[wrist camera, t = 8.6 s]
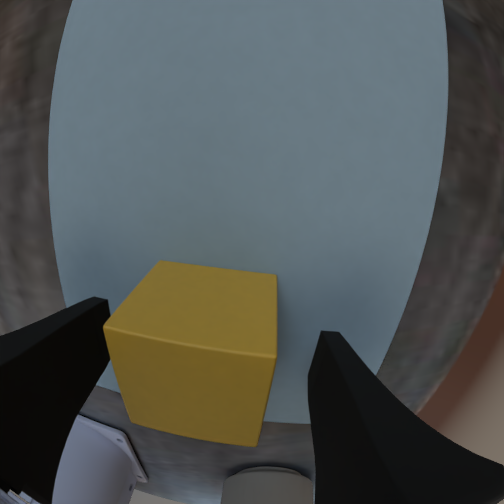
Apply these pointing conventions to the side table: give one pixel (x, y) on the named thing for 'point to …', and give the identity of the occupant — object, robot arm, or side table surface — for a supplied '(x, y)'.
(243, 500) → the beverage can
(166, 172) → the placemat
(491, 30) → the side table surface
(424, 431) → the robot arm
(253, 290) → the mustard block
